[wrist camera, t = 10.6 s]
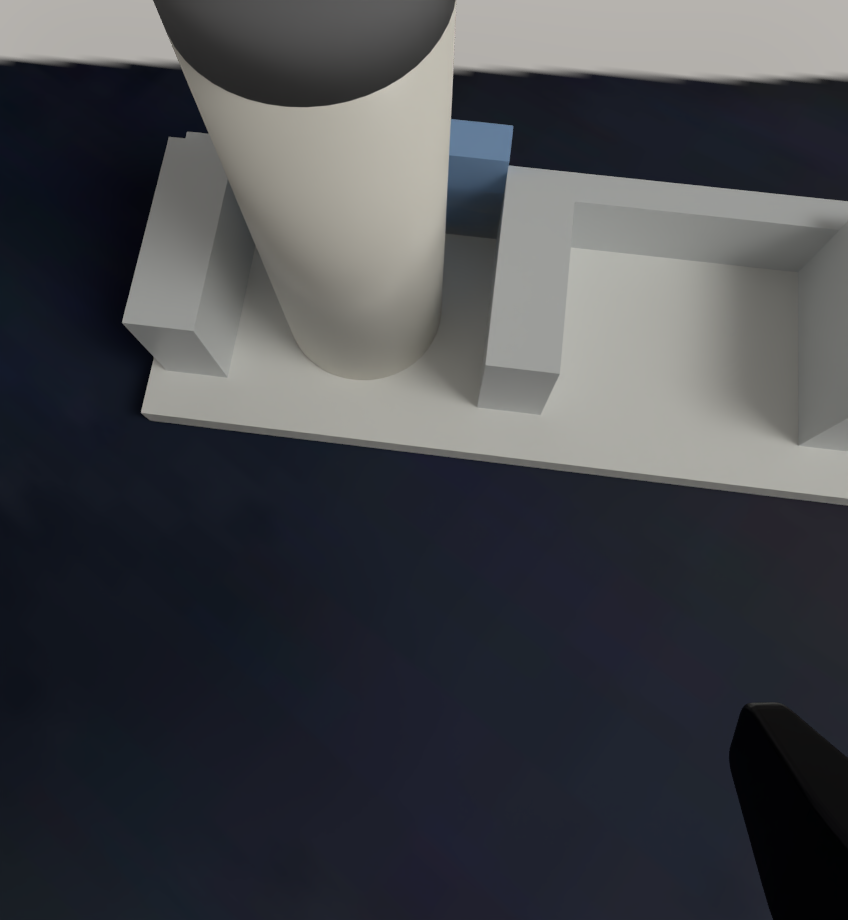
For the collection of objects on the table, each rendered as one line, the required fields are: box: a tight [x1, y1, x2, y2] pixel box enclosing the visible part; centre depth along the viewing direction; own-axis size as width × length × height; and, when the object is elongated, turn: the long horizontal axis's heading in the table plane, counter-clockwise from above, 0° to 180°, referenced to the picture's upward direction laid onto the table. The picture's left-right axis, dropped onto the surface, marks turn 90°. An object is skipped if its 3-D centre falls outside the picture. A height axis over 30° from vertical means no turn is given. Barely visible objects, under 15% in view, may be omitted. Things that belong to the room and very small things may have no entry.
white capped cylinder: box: [153, 0, 457, 380], centre depth 17 cm, size 5×5×14 cm
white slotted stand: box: [122, 119, 848, 506], centre depth 22 cm, size 9×23×5 cm, turn 83°
